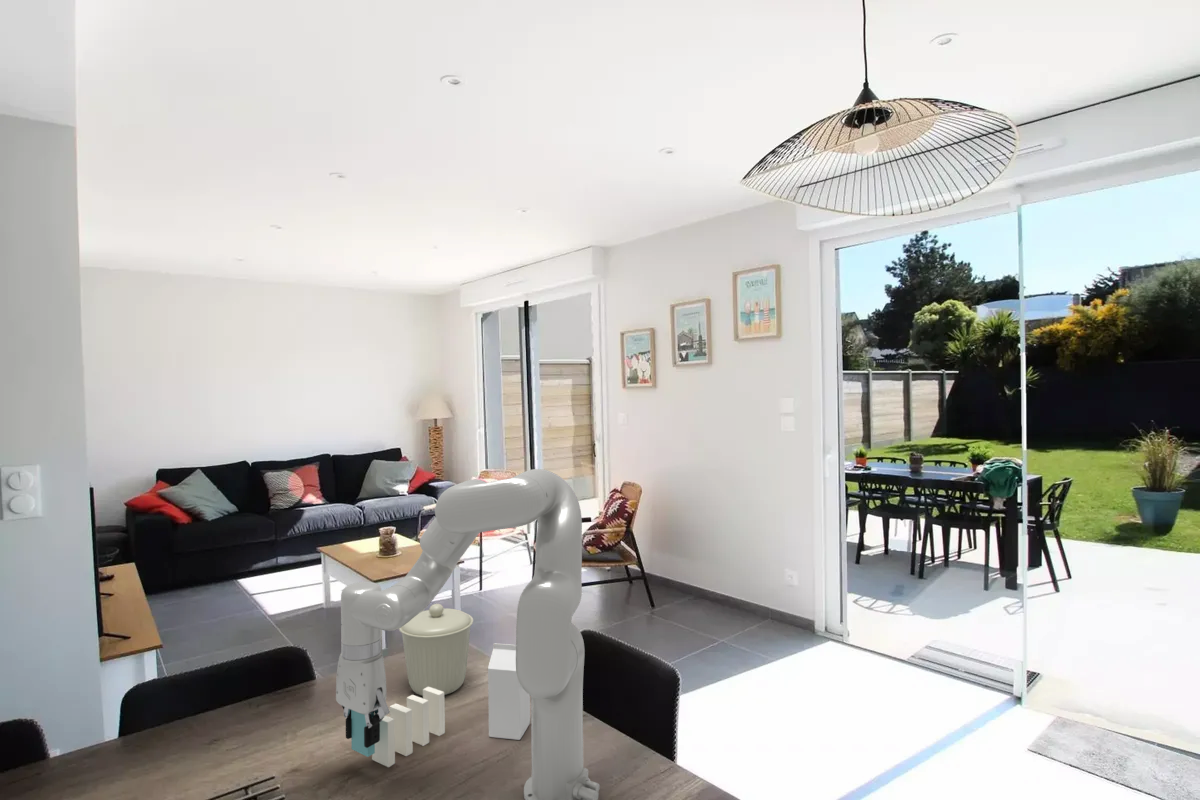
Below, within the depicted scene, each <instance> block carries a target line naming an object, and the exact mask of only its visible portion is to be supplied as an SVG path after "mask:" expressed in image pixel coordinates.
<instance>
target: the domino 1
mask: <svg viewBox="0 0 1200 800" xmlns="http://www.w3.org/2000/svg"><path fill="white" fill-rule="evenodd" d="M374 714H375V712H374V711H373V712H371V718H372V717H373V716H374ZM351 719H352V738H350V739H351V740H350V741H351V743H350V744H351V750H352V751H355V752H356V753H358V754H361V755H363V756H365V757H367V758H369V757H372V754H374V753H375V744H374V745H372V746H370V747H368V748H366V747H365V746H364V727H366V726H367V725H366V720H365V715H363V714H360V713H358V712H356V711H353V710H351Z"/></svg>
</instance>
